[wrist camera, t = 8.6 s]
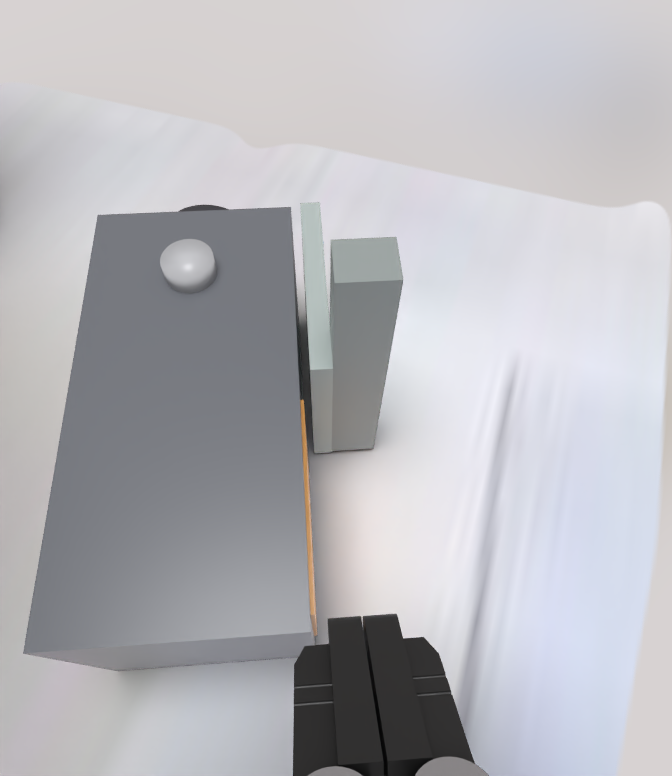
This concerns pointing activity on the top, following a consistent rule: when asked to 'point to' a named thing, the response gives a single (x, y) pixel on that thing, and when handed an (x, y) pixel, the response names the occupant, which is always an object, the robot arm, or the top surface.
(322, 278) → the side door
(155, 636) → the block
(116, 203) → the top surface
